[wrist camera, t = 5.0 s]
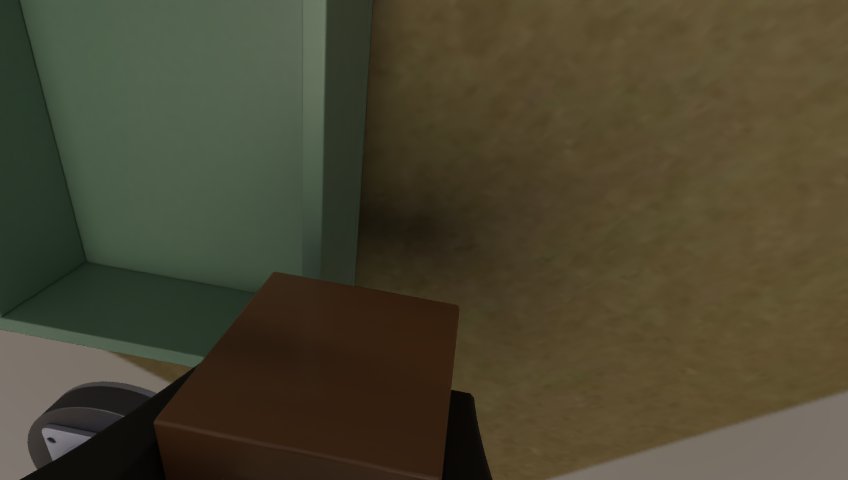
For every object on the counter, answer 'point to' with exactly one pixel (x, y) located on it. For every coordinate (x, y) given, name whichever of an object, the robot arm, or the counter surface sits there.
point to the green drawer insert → (174, 163)
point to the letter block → (317, 389)
